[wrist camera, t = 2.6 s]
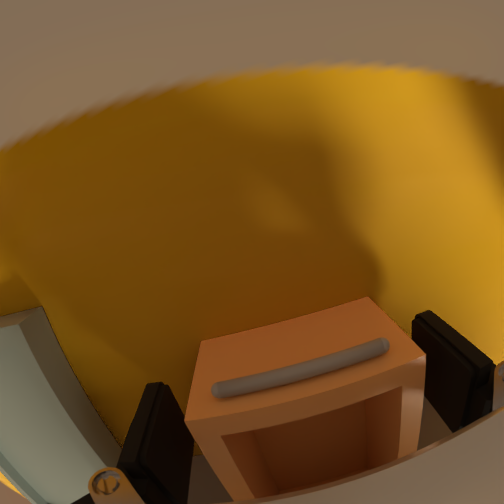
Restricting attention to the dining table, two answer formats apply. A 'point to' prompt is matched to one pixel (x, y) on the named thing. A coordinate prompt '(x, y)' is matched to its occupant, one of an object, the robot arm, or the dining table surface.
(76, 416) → the tray
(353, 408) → the orange drawer
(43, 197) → the dining table surface
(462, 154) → the dining table surface
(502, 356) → the dining table surface
